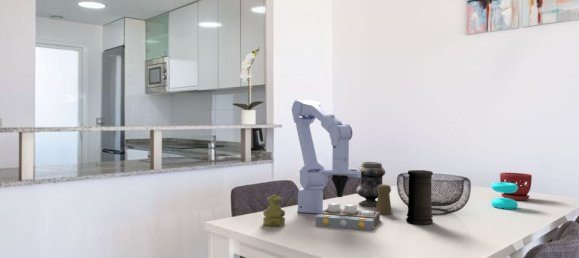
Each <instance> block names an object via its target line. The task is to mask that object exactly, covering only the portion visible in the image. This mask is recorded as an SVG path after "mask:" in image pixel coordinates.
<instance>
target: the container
mask: <svg viewBox="0 0 579 258" xmlns="http://www.w3.org/2000/svg"><path fill="white" fill-rule="evenodd" d="M407 174H408V182H407V184H408V192H407V193H408V194H407V195H408V196H407V197H408V199H407V200H408V201H407V214H406V216H407V217H406V218H405V220H406V223H407V224H411V225H416V226H429V225H433V223H434V220H433V217H434V216H433V214H432V213H433V212H432V211H433V210H432V209H433V207H432V185H433V184H432V183H433V182H432V179H433V177H432V176H433V174H434V173H433V171H431V170H425V169H424V170H422V169H412V170H411V169H410V170H408V171H407Z"/></svg>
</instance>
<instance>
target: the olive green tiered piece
mask: <svg viewBox="0 0 579 258" xmlns="http://www.w3.org/2000/svg"><path fill="white" fill-rule="evenodd" d="M266 199H267V201H268V202H269V204H270V205H269V206H268V207H267V208H266V209H265V210H263V212H262V213H263V214H262V215H263V216H264V217H263V219H262V220H263V225H264V226H266V227H275V228H276V227H282V226H284V225H285V224H286V218H285V215H286V211H285V210H283V209H282V207H281V206H279V203H280V202H281V201H282V199H283V198H282V197H281V196H279V195H277V194H271V195H270V196H268V197H266Z"/></svg>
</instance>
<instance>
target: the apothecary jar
mask: <svg viewBox="0 0 579 258" xmlns="http://www.w3.org/2000/svg"><path fill="white" fill-rule="evenodd" d="M382 164H383V163H382V162H379V161H361V164H360V166H359V167H358V168H357V170H356V171H358V172H361V177H360V178H359V185H358V186H357V188H356V189H355V191H356V195H358V196H360V197H362V198H363V199H365V200H362V201H360V202H359V203H358V205H360V206H364V207H377V199H378V192H377V187H378V186H379V185H383V176H385V174H386V170H385V169H384V167H383V166H382Z"/></svg>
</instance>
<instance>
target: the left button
mask: <svg viewBox="0 0 579 258" xmlns="http://www.w3.org/2000/svg"><path fill="white" fill-rule="evenodd" d="M327 208H328V212H332V213H340V209H341V203H338V202H330V203H327Z"/></svg>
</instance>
